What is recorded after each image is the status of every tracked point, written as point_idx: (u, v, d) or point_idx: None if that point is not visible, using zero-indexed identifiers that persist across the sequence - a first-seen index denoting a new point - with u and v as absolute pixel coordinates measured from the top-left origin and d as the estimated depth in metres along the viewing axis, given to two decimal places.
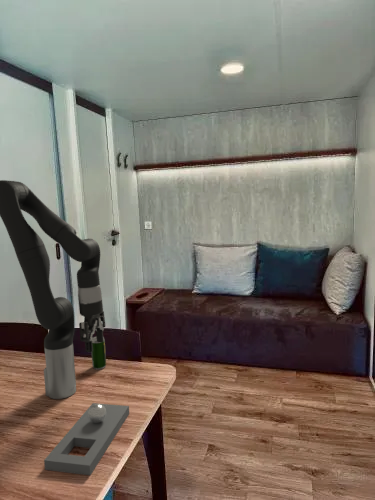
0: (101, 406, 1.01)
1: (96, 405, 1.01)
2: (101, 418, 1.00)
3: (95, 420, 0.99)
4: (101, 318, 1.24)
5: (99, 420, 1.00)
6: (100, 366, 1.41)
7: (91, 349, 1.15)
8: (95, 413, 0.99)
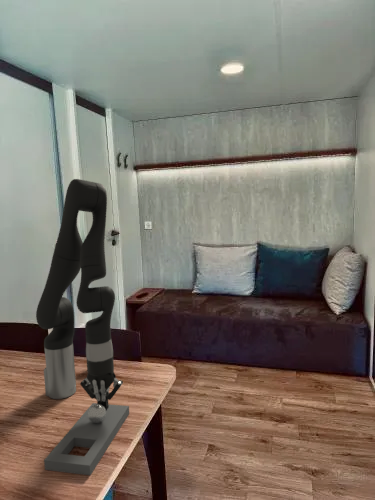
0: (101, 407, 1.01)
1: (95, 406, 1.01)
2: (101, 418, 1.00)
3: (95, 420, 0.99)
4: (90, 384, 1.06)
5: (99, 420, 1.00)
6: None
7: None
8: (95, 414, 0.99)
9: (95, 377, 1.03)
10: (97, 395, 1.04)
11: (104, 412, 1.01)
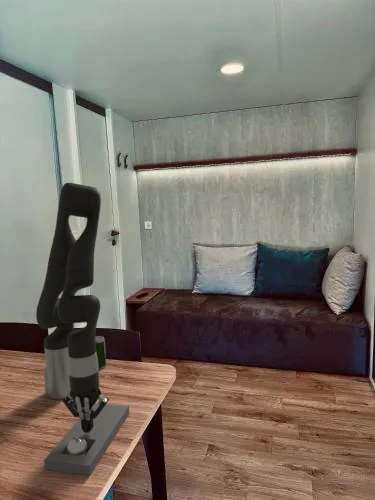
0: None
1: None
2: (85, 442, 0.91)
3: None
4: (73, 401, 0.97)
5: (83, 440, 0.91)
6: (100, 366, 1.41)
7: None
8: None
9: (78, 394, 0.94)
10: (81, 413, 0.94)
11: (86, 449, 0.91)
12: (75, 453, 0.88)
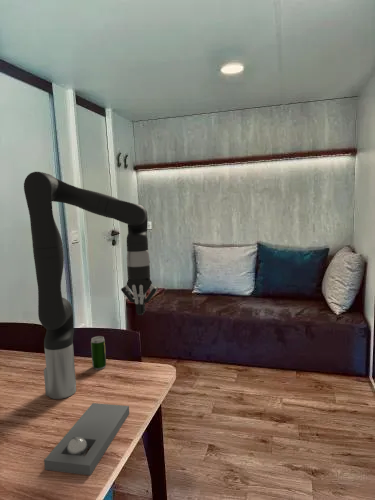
0: None
1: None
2: (85, 441, 0.91)
3: (81, 437, 0.92)
4: (129, 291, 1.22)
5: (83, 439, 0.91)
6: (100, 366, 1.41)
7: None
8: None
9: (134, 283, 1.19)
10: (136, 299, 1.20)
11: (86, 449, 0.91)
12: (75, 452, 0.88)
